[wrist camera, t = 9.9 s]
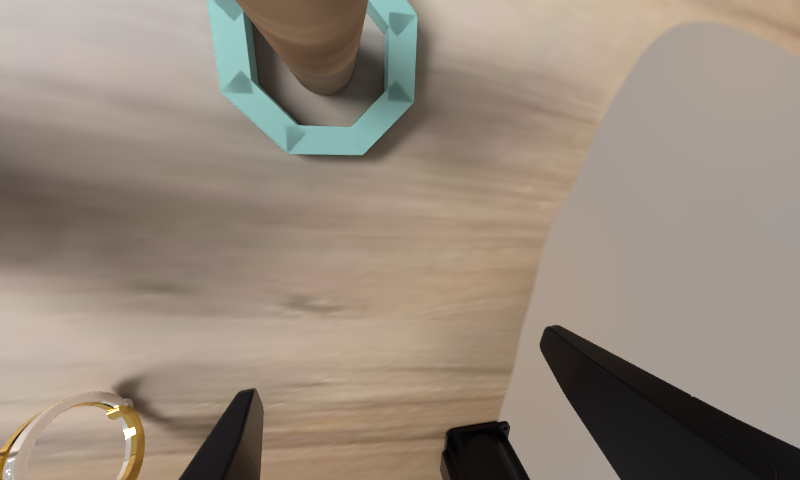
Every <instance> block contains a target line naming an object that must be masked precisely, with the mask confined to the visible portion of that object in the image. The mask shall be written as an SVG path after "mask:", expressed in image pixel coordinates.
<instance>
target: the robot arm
mask: <svg viewBox="0 0 800 480" xmlns="http://www.w3.org/2000/svg"><path fill="white" fill-rule="evenodd" d="M540 349H541V352H542V354H543V355H544V357H545V359H546V361H547V363H548V365H549V366H550V369H551V370H552V372H553V374H554V376H555V378H556V380H557V382H558V383H559V385H560V387H561V389H562V391H563V392H564V394H565V395H566V397H567V399H568V400H569V402H570V404H571V405H572V406H573V408H574V410H575V411H576V413H577V414H578V415H579V417H580V419H581V420H582V422H583V423H584V425H585V426H586V428H587V429H588V431H589V432H590V434H591V435H592V437H593V438H594V440H595V442H596V443H597V444H598V446H599V447H600V449H601V451H602V452H603V454H604V455H605V457H606V458H607V460H608V461H609V463H610V464H611V466H612V467H613V469H614V470H615V472H616V473H617V475H618V476H619V478H620V479H621V480H800V449H799V448H797V447H795V446H793V445H790V444H788V443H786V442H784V441H782V440H780V439H777V438H776V437H773V436H771V435H769V434H767V433H765V432H763V431H761V430H759V429H757V428H755V427H753V426H750V425H748V424H746V423H744V422H742V421H740V420H738V419H736V418H734V417H732V416H730V415H728V414H726V413H724V412H722V411H721V410H719V409H717V408H715V407H713V406H711V405H709V404H707V403H705V402H703V401H701V400H699V399H698V398H696V397H692V396H691V395H690V394H688V393H686V392H684V391H682V390H680V389H678V388H677V387H674V386H673V385H671V384H669V383H667V382H665V381H663V380H661V379H660V378H658V377H656V376H654V375H652V374H650V373H648V372H646V371H644V370H642V369H640V368H639V367H637V366H635V365H633V364H631V363H629V362H628V361H625V360H623V359H622V358H620V357H618V356H616V355H614V354H612V353H610V352H608V351H607V350H605V349H603V348H601V347H599V346H597V345H595V344H593V343H592V342H590V341H588V340H586V339H584V338H582V337H580V336H578V335H576V334H575V333H573V332H571V331H569V330H567V329H565V328H563V327H561V326H559V325H553V326H548V327H546V328H545V329H544V332H543V335H542V338H541V341H540ZM263 416H264V411H263V405H262V402H261V399H260V397H259V394H258V391H257V390H256V389H255V388H252V389H247V390H242V391H240V392H238V393H237V395H236V396H235V398H234V399H233V400H232V402H231V403H230V405H229V406H228V408H227V409H226V411H225V412H224V414H223V415H222V417H221V418H220V420H219V421H218V423H217V424H216V425H215V427H214V428H213V430H212V431H211V433H210V434H209V436H208V437H207V439H206V440H205V442H204V443H203V445H202V446H201V447H200V449H199V450H198V452H197V453H196V455H195V456H194V458H193V459H192V461H191V462H190V464H189V465H188V467H187V468H186V470H185V471H184V472H183V474H182V475H181V477H180V478H179V480H260V470H261V453H262V434H263ZM509 430H510V426H509V424H508V422H507V421H502V422H496V423H490V424H483V425H477V426H471V427H465V428H459V429H453V430H449V431H448V432H447V433H446V438H445V447H444V450H443V452H442V457H441V466H440V471H441V475H442V478H443V480H530V479H529V477H528V475H527V473H526V471H525V470H524V468H523V466H522V464H521V462H520V460H519V458H518V457H517V455H516V453H515V451H514V449H513V448H512V446H511V444H510V442H509V440H508V435H509Z"/></svg>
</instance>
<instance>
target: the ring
mask: <svg viewBox="0 0 800 480" xmlns="http://www.w3.org/2000/svg"><path fill="white" fill-rule="evenodd" d="M79 406H96V407H100V408H103V409H105V410H107V416H108V417H109V418H110V419H112V420H115V419H118V421H119V422H120V424H121V425H122V428H123V430H124V433H125V438H126V453H125V459H124V463H123V466H122V469H121V471H120V473H119V475H118V477H117V479H116V480H136V479H137V477H138V475H139V472H140V469H141V466H142V462H143V457H144V450H145V436H144V430H143V426H142V423H141V420H140V418H139V416H138V414H137V412H136V411H135V409H134V408H133V406H134V403H133V401H132V400H131V399H129V398H125V399H123V398H122V397H120V396H118V395H115V394H113V393H109V392H101V391H96V392H88V393H83V394H79V395H76V396H74V397H70V398H68V399H65V400H63V401H60V402H58V403H56V404H54V405H52V406H50V407H48V408H46V409H44V410H42V411H41V412H39V413H38V414H36V415H35V416H33V417H32V418H31V419H29V420H28V421H27V422H25V423H24V424H23V425H22V426H21V427H20V428H19V429H18V430H17V431H16V432H15V433H14V434H13V435H12V436H11V437H10V438H9V439H8V440H7V442H6V443H5V444H4V446H3V447H2V448H1V450H0V480H28V476H27V463H28V459H29V455H30V453H31V450H32V448H33V446H34V444H35V442H36V441H37V439H38V437H39V436H40V434H41V433H42V431H43V430H44V429H45V428H46V426H47V425H48V424H49V423H50V422H51V421H52V420H53V419H54V418H55V417H57V416H58V415H59V414H61V413H62V412H64V411H66V410H68V409H71V408H75V407H79Z"/></svg>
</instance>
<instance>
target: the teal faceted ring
mask: <svg viewBox="0 0 800 480" xmlns="http://www.w3.org/2000/svg"><path fill="white" fill-rule="evenodd" d="M207 6H208V13H209V19H210V26H211V32H212V38H213V45H214V51H215V58H216V64H217V70H218V77H219V83H220V90H221V93H222V94H223V95H224V96H225V97H226V98H228V99H229V100H230V101H231V102H232V103H233V104H234V105H235V106H236V107H237V108H238V109H240V110H241V111H242V112H243V113H244V114H245V115H246V116H247V117H248V118H249V119H250V120H251V121H253V122H254V123H255V124H256V125H257V126H258V127H259V128H260V129H261V130H262V131H263V132H265V133H266V134H267V135H268V136H269V137H270V138H271V139H272V140H273V141H274V142H275V143H276V144H278V145H279V146H280V147H281V148H282V149H283V150H284V151H285V152H286V153H287V154H325V155H363V154H364V153H365V152H366V151H367V150H368V149H369V148H370V147H371V146H372V145H373V144H374V143H375V142H376V141H377V140H378V139H379V138H380V137H381V136H382V135H383V134H384V133H385V132H386V131H387V130H388V129H389V128H390V127H391V126H392V125H393V123H394V122H395V121H396V120H397V119H398V118H399V117H400V116H401V115H402V114H403V113H404V112H405V111H406V110H407V109H408V108H409V107H410V106H411V105H412V104H413V103H414V90H415V65H416V40H417V16H418V15H417V14H416V12H415V11H414V9H413V8H412V7H411V5H410V4H409V2H408V1H407V0H368V5H367V10H366V12H367V13H368V14H369V16H370V17H371V18H372V19H373V21H374V22H375V23H376V25H377V26H378V27H379V28H380V30H381V31H382V32H383V34H384V35H385V65H384V93H383V94H382V95H381V96H380V97H379V98H378V99H377V100H376V101H375V102H374V103H373V104H372V106H371V107H370V108H369V109H368V110H367V111H366V112H365V113H364V114H363V115H362V116H361V117H360V118H359V119H358V120H357V121H356V122H355V123H354V124H353V125H352V127H331V126H302V125H299V124H298V123H297V122H296V121H295V120H294V119H293V118H292V117H291V116H290V115H289V114H288V113H287V112H286V111H285V110H284V109H283V108H282V107H281V106H280V105H279V104H278V103H277V102H276V101H275V100H274V99H273V98H272V97H270V96H269V95H268V94H267V93H266V92H265V91H264V90H263V89H262V88H261V87H260V86H259V83H258V74H257V66H256V57H255V48H254V40H253V31H252V21H251V20H250V18H249V17H248V16H247V15H246V13H245V12H244V11H243V9H242V8H241V7H240V6H239V4H238V3H237V2H236V1H235V0H207Z"/></svg>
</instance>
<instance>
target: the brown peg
mask: <svg viewBox="0 0 800 480" xmlns="http://www.w3.org/2000/svg"><path fill="white" fill-rule="evenodd" d="M235 1H236V2H237V3H238V4H239V6H240V7H241V8H242V9H243V11H244V12H245V13H246V15H247V16H248V17H249V18H250V20H251V21H252V22H253V23H254V25H255V26H256V27H257V29H258V30H259V31H260V32H261V34H262V35H263V36H264V37H265V39H266V40H267V41H268V43H269V44H270V45H271V46H272V48H273V49H274V50H275V51H276V53H277V54H278V55H279V57H280V58H281V59H282V60H283V62H284V63H285V64H286V65H287V67H288V68H289V69H290V71H291V72H292V73H293V74H294V76H295V77H296V78H297V79H298V81H299V82H300V83H301V84H302V85H303V86H304V87H305V88H306V89H308V90H309V91H311V92H313V93H316V94H319V95H332V94H336V93H338V92H340V91H341V90H343V89H344V88H345V87H346V86H347V84H348V83H349V81H350V80H351V77H352V75H353V71H354V66H355V61H356V57H357V52H358V47H359V43H360V38H361V33H362V28H363V24H364V19H365V14H366V10H367V5H368V0H235Z"/></svg>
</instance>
